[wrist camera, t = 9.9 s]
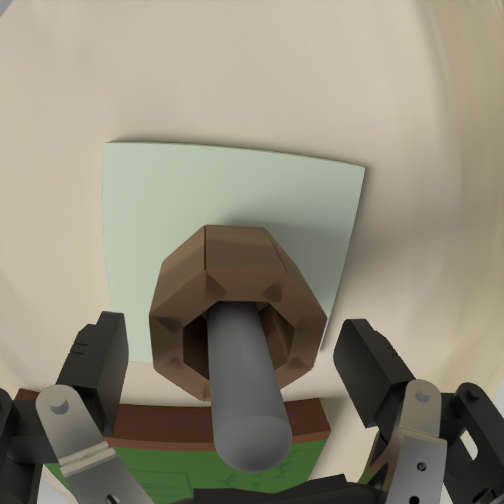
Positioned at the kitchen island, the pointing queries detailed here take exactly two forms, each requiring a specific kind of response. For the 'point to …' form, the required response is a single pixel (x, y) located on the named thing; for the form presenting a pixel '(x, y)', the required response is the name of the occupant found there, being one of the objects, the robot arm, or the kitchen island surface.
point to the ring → (231, 289)
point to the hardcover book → (202, 450)
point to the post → (232, 214)
